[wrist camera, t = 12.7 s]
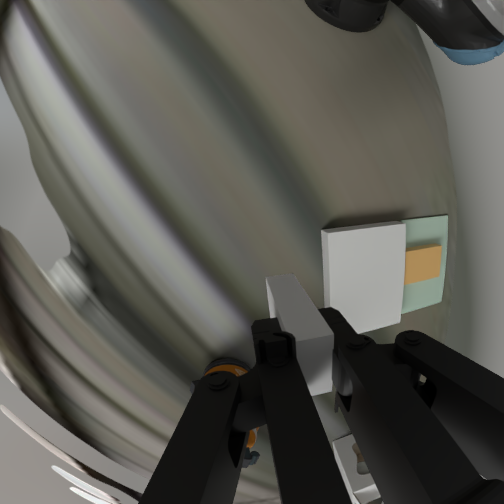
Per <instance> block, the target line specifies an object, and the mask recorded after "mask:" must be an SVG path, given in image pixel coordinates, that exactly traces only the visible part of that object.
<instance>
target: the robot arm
mask: <svg viewBox="0 0 504 504" xmlns="http://www.w3.org/2000/svg"><path fill="white" fill-rule="evenodd" d="M388 1H389V0H305V2H306V4H307V5H308V7H309V8H310V9H311V10H312V11H313V12H314V13H315V14H316V15H317V16H318V17H320V18H321V19H322V20H324V21H326V22H327V23H329V24H331V25H333V26H335V27H337V28H340V29H343V30H347V31H351V32H367V31H370V30H372V29H374V28H375V27H376V26H377V25H378V24H379V23H380V22H381V21H382V19H383V16H384V13H385V10H386V7H387V3H388ZM391 1H392V2H393V3H394V4H396V5H397V6H398V7H399V8H400V9H401V10H402V11H403V12H404V13H406V14H407V15H408V16H409V17H410V18H411V19H412V20H413V21H414V22H415V23H416V24H417V25H418V26H419V27H420V28H421V29H422V30H423V31H424V32H425V33H426V34H427V35H428V36H429V37H430V38H431V39H432V40H433V43H434V44H435V45H436V46H437V47H439V48H440V49H441V50H442V51H443V52H444V53H445V54H446V55H447V56H448V58H449V59H451V60H452V61H453V62H456V63H458V64H461V65H476V64H480V63H485V62H487V61H490V60H492V59H494V57H495V56H499V55H501V54H502V53H503V52H504V0H391ZM266 284H267V293H268V302H269V311H270V318H268V319H262V320H255V321H254V323H253V325H252V326H251V328H252V335H253V342H254V349H255V355H256V364H255V366H254V367H253V369H252V370H250V371H249V372H247V373H245V374H243V375H240V376H236V375H235V374H234V373H232V372H229V371H214V372H211V373H208V374H207V375H205V376H203V377H202V378H201V379H200V381H199V382H198V384H197V386H196V388H195V390H194V392H193V394H192V396H191V398H190V400H189V403H188V405H187V407H186V409H185V411H184V413H183V415H182V417H181V419H180V421H179V423H178V425H177V427H176V429H175V431H174V433H173V435H172V437H171V439H170V441H169V443H168V445H167V447H166V449H165V451H164V453H163V455H162V457H161V459H160V461H159V463H158V465H157V467H156V469H155V471H154V473H153V475H152V477H151V479H150V481H149V483H148V485H147V487H146V489H145V491H144V493H143V495H142V497H141V499H140V501H139V503H138V504H233V500H234V496H235V492H236V488H237V484H238V480H239V476H240V472H241V468H242V464H243V460H244V456H245V452H246V447H247V443H248V439H249V434H250V430H252V429H255V428H257V427H260V426H262V425H265V424H267V428H268V434H269V439H270V445H271V451H272V456H273V462H274V467H275V473H276V478H277V483H278V489H279V494H280V499H281V504H352V501H351V499H350V496H349V493H348V491H347V488H346V485H345V483H344V480H343V478H342V475H341V472H340V470H339V467H338V464H337V462H336V459H335V457H334V454H333V451H332V449H331V446H330V443H329V441H328V438H327V436H326V433H325V430H324V428H323V425H322V423H321V420H320V417H319V415H318V412H317V409H316V407H315V404H314V402H313V399H312V396H313V395H318V394H322V393H326V392H330V391H332V381H333V383H334V385H335V387H336V397H335V408H334V409H335V413H336V412H338V406H339V407H340V409H341V411H342V413H343V415H344V417H345V420H346V422H347V424H348V426H349V428H350V430H351V432H352V435H353V437H354V439H355V441H356V443H357V445H358V447H359V450H360V452H361V454H362V456H363V458H364V460H365V463H366V465H367V467H368V469H369V471H370V474H371V476H372V478H373V480H374V482H375V485H376V487H377V489H378V491H379V493H380V496H381V498H382V500H383V502H384V504H504V378H502V377H500V376H499V375H497V374H495V373H493V372H492V371H490V370H488V369H486V368H485V367H483V366H481V365H479V364H477V363H475V362H474V361H472V360H470V359H469V358H467V357H465V356H463V355H462V354H460V353H458V352H456V351H454V350H453V349H451V348H449V347H447V346H445V345H444V344H442V343H440V342H438V341H437V340H435V339H433V338H431V337H429V336H428V335H426V334H424V333H422V332H419V331H414V330H408V331H404V332H401V333H399V334H398V335H397V336H396V339H395V343H393V344H376V343H375V341H374V340H373V339H371V338H370V337H368V336H365V335H360V334H357V332H356V331H355V330H354V329H353V328H352V326H351V325H350V324H349V323H348V322H347V320H346V319H345V318H344V317H343V315H342V314H341V313H340V312H339V311H338V310H336V309H334V308H332V307H327V308H321V309H317V308H316V306H315V305H314V303H313V302H312V300H311V299H310V298H309V296H308V295H307V293H306V292H305V290H304V289H303V287H302V286H301V284H300V283H299V281H298V280H297V279H296V277H295V276H294V274H293V273H291V274H284V275H278V276H271V277H266ZM421 374H422V375H423V376H425V377H426V378H427V379H426V382H425V383H423V382H421V381H419V380H420V377H421ZM480 475H482V476H483V477H484V478H486V479H487V480H486V479H483V478H482V477H481V476H480Z"/></svg>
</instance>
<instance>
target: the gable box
mask: <svg viewBox="0 0 504 504" xmlns="http://www.w3.org/2000/svg"><path fill="white" fill-rule="evenodd" d="M333 448H334V454H335V459H336V462H337V464H338V467H339V470H340V472H341V475H342V478H343V480H344V483H345V485H346V488H347V491H348V493H349V496H350V499H351V501H352V504H367V502H370V501H372V500H375V499H377V498H379V497H381V496H380V493H379V491H378V489H377V487H376V485H375V482H374V480H373V478H372V476H371V474H366V475H360V474H358V473H357V463H359V462H363V461H365V460H364V458H363V456H362V454H361V452H360V450H359V447H358V445H357V443H356V441H355V439H354V437H353V435H352V434H351V435H348V436H345V437H343V438H340V439H337V440H334V441H333Z"/></svg>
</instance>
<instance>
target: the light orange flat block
mask: <svg viewBox="0 0 504 504" xmlns="http://www.w3.org/2000/svg"><path fill="white" fill-rule="evenodd" d="M441 252H442V245H439V244H436V243H434V244H428V245H422V246H416V247H409V248H406V250H405V274H404V285H407V284H411V283H415V282H419V281H423V280H427V279H431V278H435V277H439V275H440V265H441Z"/></svg>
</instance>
